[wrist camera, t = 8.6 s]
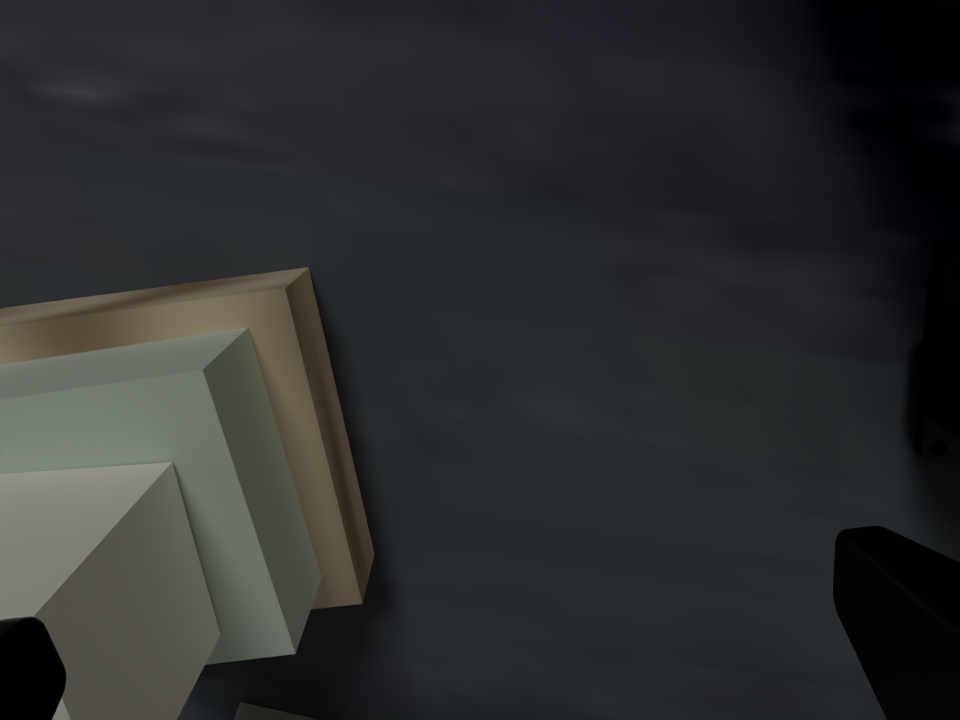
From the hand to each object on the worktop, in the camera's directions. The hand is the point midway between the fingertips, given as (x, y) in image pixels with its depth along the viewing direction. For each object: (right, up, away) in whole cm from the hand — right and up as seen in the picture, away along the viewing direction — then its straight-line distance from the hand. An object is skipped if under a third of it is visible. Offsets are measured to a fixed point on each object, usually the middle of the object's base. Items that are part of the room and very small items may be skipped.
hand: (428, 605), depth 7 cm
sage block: (-9, -1, +11) cm, 14 cm away
